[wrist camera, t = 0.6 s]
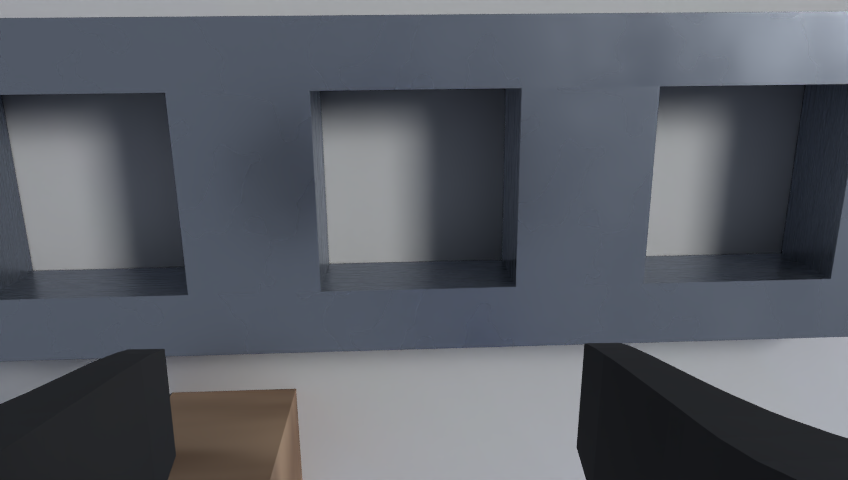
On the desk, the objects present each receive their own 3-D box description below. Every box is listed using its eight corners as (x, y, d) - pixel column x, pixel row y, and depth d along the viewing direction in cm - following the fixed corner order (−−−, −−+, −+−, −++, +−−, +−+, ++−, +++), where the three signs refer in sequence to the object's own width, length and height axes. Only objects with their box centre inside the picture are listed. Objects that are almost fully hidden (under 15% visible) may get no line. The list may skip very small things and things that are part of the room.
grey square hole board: (842, 303, 22) (897, 335, 19) (-33, 327, 21) (-89, 363, 18) (892, 15, 19) (962, 10, 17) (-98, 23, 18) (-173, 19, 16)
